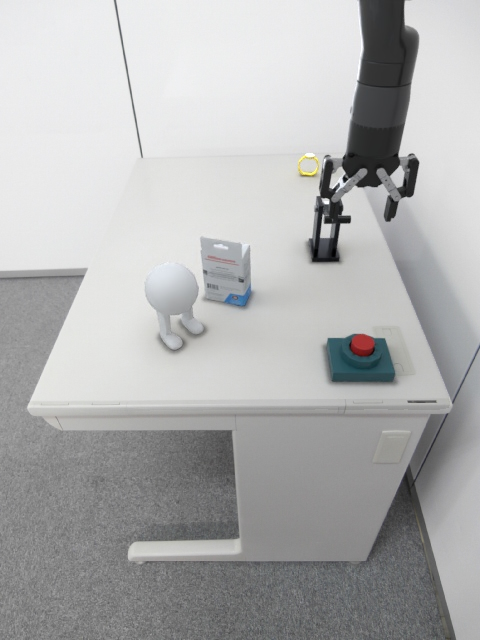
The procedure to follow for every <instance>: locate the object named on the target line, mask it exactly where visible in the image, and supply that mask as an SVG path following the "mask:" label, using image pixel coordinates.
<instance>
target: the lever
mask: <svg viewBox="0 0 480 640" xmlns="http://www.w3.org/2000/svg"><path fill="white" fill-rule="evenodd" d="M322 201H323V200H322ZM323 205H324V208H323V219H322V222H323V224H324V225H332V224H340V225H343V224H345V225H347V224H348V225H350V224H351V223H352V216H351V214H342V215H338V221H337V222H332V219H330V218H329V214H328V208H329V200H327V201H326V200H324V201H323Z"/></svg>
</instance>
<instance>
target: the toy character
mask: <svg viewBox="0 0 480 640" xmlns="http://www.w3.org/2000/svg"><path fill="white" fill-rule="evenodd" d="M199 289H200V287H199V283H198V281H197V277H196V275H195V273H194V272H192V270H190V269H189V267H187V266H186V265H185V264H183V263H180V262H177V261H167V262H164V263H161V264H157V265H156V266H155V267H153V268H152V269H151V270H150V271H149V272H148V274H147V276H146V278H145V281H144V295H145V297H146V300H147V303H148V304H149V305H150V307H152V309H153V310H155V312H156V316H157V320H158V325H159V326H158V327H159V336H160V339H161V340H162V341H163V343H164V344H165V345H166V346H167V347H168V348H169V349H170V350H172V351H176V350H179V349H181V348H182V346H183V344H184V343H183V340H182V337H179V336H178V335H177V334H176V333H174V331H172V325H171V323H172V322H171V317H170V316H180V315H181V323H182V325H183V326H184V327H185V328H186V329H187V331H188V332H189V333H191V334H192V335H200V334H201V333H203V332H204V329H205V328H204V324H203V323H202V322H201V321H199V320H198V319H197V318H195V316H194V308H193V306H194V305H195V304H196V302H197V299H198V296H199V291H200V290H199Z"/></svg>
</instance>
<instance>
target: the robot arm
mask: <svg viewBox="0 0 480 640" xmlns="http://www.w3.org/2000/svg"><path fill="white" fill-rule="evenodd" d="M409 1H411V0H357V8H358V9H357V11H358V12H357V13H358V22H359V32H360V40H361V49H360V55H359V63H358V71H357V77H356V83H355V88H354V91H353V95H352V103H351V106H350V110H349V113H350V117H349V124H348V132H347V140H346V148H345V152H344V154H343V156H342V157H332V155H331V154H325V155H324V156H323V159H322V166H321V172H320V179H319V185H318V191H319V196H320V197H321V198H322V200H325V199H328V201H329V208H328V214H329V218H330V219H332V222H337V221H338V213H339V205H340V201H339V200H340V198H341V199H342V198H343V197H344V196H345V195H346V194H348V193H349V192H350V191H351V190H353V188H354V187H356V188H359V189H360V188H366V187H370V188H379V187H380V186H381V185H383V186H384V188H385V190H386V191H387V192H388V195H387V197H386V202H385V205H384V206H385V207H384V212H383V219H384V221H385V223H390V222H392V219H395V217H396V215H397V212H398V207H399V203H400V200H402V199H404V198H408V199H409V198H412V197H413V196H414V195H415V190H416V184H417V178H418V174H419V167H420V160H419V158H418V157H417V156H416V154H415V153H413V152H411V153H409V154H408V155H407V156H399V154H400V149H401V145H402V142H403V141H402V139H403V136H404V131H405V126H406V122H407V121H406V120H407V117H408V112H409V108H410V107H409V106H410V102H411V95H412V93H411V92H412V90H411V89H412V84H413V79H414V73H415V68H416V63H417V58H418V54H419V49H420V34H419V32H418V30H417V29H415V27H412V26H410V25H406V19H405V18H406V17H405V5H406V4H405V3H406V2H409ZM399 167H401V169H402V171H403V173H404V174H403V178H402V185H401V186H399V187H397V185H396V184H395V183H394V181H393V179H392V177H391V176H392V175H393V174H394V173H395V172H396V171H397V170H398V168H399ZM339 168H342V170H343V172H344V173H343V174H342V175H341V176H340V177H339V178H338V181H337V182H336V183H335V184H334V185H333V187H330V186H331V180H332V175H333V174H335V173H337V170H338V169H339Z"/></svg>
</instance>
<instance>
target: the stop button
mask: <svg viewBox="0 0 480 640" xmlns="http://www.w3.org/2000/svg"><path fill="white" fill-rule="evenodd" d="M357 334H358V335H356V336H354V337H353V339H352V343H351V351H352V352H353V353H354V354H355V355H358V356H360V357H367V356H369V355H371V354H372V352H373V348H374V340H373V339H372V338H371V337H372V336H371V335H368V334H366V335H364V334H365V333H357ZM370 336H371V337H370Z"/></svg>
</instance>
